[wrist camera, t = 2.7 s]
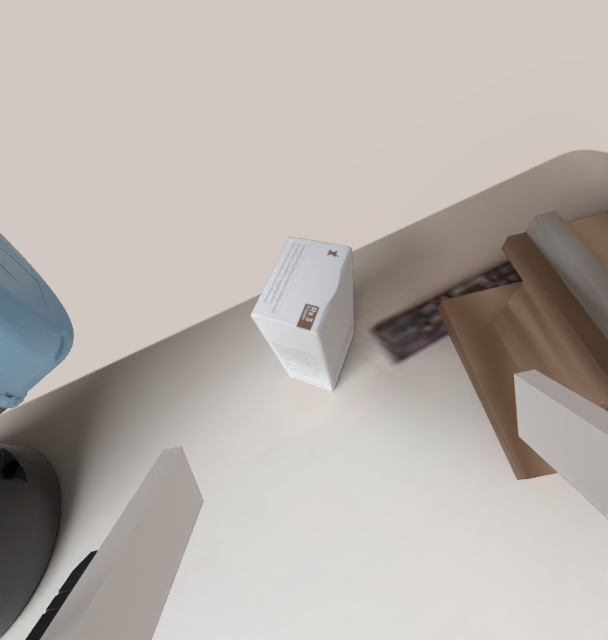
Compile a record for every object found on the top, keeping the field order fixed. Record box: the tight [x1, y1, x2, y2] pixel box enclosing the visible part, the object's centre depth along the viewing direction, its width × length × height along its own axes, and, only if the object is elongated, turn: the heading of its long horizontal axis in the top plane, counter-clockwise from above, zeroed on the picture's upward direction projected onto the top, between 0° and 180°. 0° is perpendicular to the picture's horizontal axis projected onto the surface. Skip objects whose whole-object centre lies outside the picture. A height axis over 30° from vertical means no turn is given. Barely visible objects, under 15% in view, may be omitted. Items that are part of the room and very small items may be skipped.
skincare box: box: [251, 237, 354, 392], centre depth 23 cm, size 6×4×12 cm
